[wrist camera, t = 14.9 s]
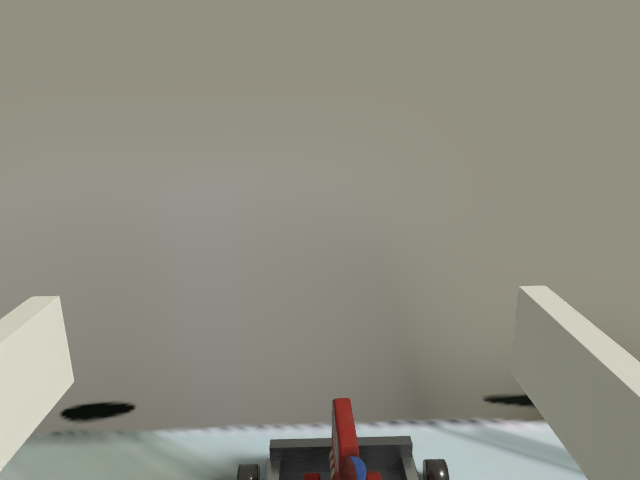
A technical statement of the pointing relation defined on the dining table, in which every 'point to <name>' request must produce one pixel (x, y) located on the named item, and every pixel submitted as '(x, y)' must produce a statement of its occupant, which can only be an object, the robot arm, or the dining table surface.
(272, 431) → the dining table surface
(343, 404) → the red plastic toy vehicle
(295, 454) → the chassis bay
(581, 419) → the robot arm
